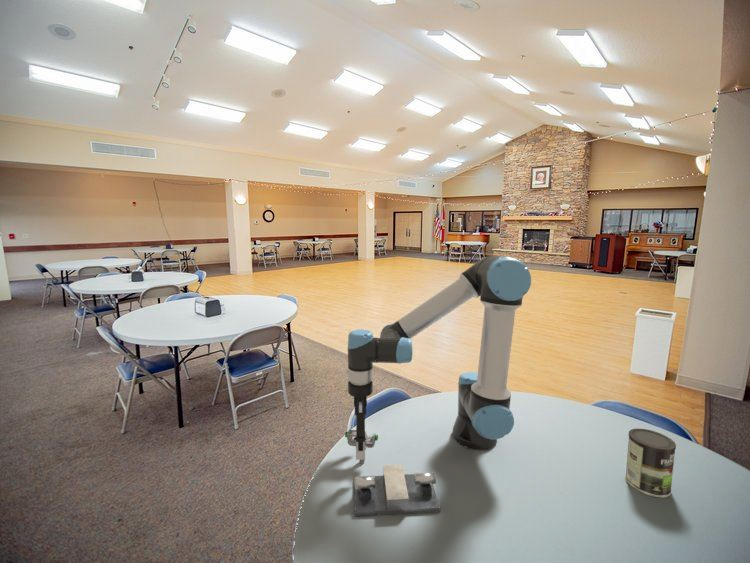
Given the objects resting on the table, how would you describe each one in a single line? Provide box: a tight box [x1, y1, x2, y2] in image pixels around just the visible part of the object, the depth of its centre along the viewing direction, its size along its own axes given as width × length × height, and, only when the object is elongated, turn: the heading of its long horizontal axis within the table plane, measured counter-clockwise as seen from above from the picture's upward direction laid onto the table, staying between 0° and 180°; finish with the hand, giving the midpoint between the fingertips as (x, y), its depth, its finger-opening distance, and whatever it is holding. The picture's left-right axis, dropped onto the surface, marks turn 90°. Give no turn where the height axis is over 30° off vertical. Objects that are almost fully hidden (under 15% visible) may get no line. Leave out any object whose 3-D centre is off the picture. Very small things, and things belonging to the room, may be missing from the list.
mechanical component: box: [344, 428, 379, 465], centre depth 107 cm, size 3×10×10 cm, turn 78°
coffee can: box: [624, 428, 677, 499], centre depth 96 cm, size 10×10×14 cm
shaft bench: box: [354, 463, 441, 517], centre depth 94 cm, size 22×13×6 cm, turn 93°
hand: (360, 445), depth 107 cm, fingers open, 13 cm apart
